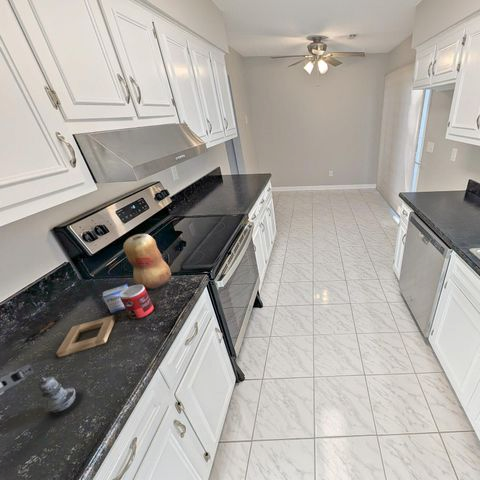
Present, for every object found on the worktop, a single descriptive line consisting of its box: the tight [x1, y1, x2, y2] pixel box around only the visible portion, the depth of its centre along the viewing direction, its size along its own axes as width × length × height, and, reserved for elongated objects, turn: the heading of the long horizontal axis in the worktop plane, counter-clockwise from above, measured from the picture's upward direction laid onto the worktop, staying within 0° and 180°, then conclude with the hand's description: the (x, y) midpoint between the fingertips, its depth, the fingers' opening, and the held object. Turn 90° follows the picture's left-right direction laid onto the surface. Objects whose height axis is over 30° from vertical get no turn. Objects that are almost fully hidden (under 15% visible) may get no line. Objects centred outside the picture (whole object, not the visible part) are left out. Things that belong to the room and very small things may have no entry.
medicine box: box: [102, 283, 129, 314], centre depth 101 cm, size 8×4×9 cm, turn 126°
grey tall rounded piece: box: [37, 376, 76, 413], centre depth 64 cm, size 6×6×12 cm
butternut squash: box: [122, 233, 172, 290], centre depth 109 cm, size 14×13×25 cm
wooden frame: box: [55, 314, 117, 358], centre depth 88 cm, size 13×13×2 cm
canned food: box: [119, 284, 154, 320], centre depth 96 cm, size 8×8×11 cm
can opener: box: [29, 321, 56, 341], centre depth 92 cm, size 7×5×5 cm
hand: (9, 379), depth 55 cm, fingers open, 8 cm apart
